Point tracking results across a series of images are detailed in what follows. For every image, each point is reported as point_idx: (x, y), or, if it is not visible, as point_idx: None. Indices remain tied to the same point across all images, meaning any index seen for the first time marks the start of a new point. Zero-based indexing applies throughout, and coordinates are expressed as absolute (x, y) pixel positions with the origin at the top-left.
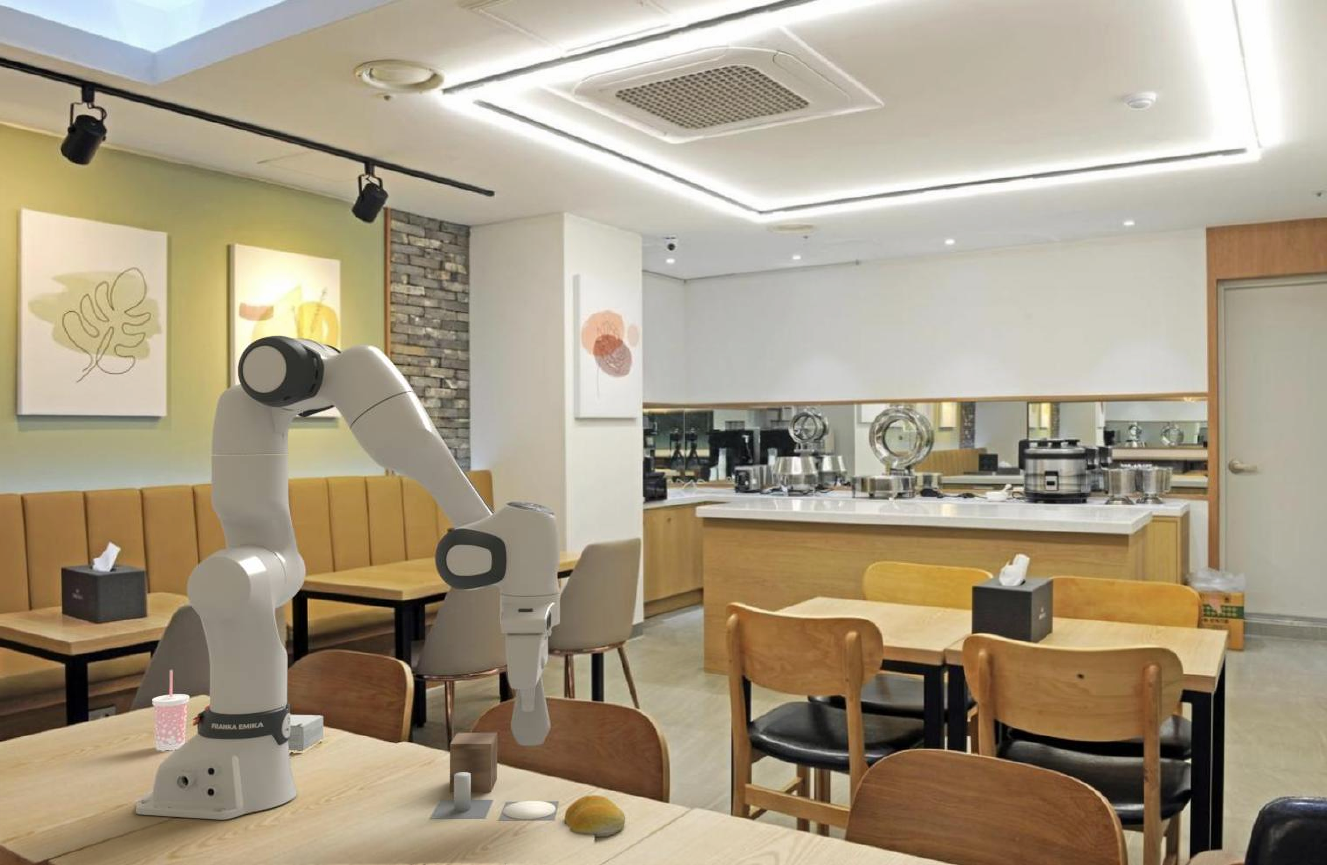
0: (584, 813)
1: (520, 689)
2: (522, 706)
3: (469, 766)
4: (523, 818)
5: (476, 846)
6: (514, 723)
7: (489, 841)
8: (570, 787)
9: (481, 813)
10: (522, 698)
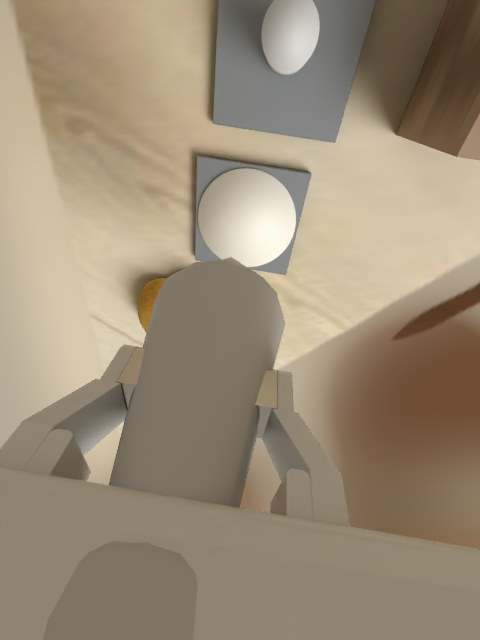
0: (144, 308)
1: (26, 420)
2: (116, 356)
3: (464, 56)
4: (198, 209)
5: (80, 105)
6: (175, 285)
7: (110, 135)
8: (374, 297)
9: (245, 112)
10: (90, 384)
